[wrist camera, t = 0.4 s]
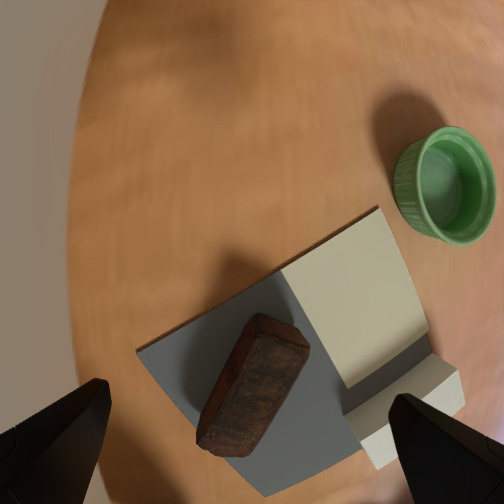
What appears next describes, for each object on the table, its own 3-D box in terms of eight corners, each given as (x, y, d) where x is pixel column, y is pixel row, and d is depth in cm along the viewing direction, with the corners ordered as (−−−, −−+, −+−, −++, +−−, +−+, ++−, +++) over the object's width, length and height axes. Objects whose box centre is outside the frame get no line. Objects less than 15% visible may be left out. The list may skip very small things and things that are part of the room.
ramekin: (381, 236, 24) (412, 240, 19) (387, 125, 23) (416, 111, 18) (461, 245, 25) (493, 250, 20) (465, 149, 24) (496, 142, 19)
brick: (249, 306, 23) (257, 328, 18) (298, 326, 23) (316, 351, 19) (195, 418, 23) (192, 454, 19) (240, 432, 24) (244, 468, 19)
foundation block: (361, 445, 26) (377, 470, 22) (343, 416, 25) (359, 441, 21) (442, 386, 26) (465, 404, 22) (432, 352, 25) (457, 369, 21)
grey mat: (264, 496, 25) (265, 497, 25) (136, 352, 22) (135, 354, 22) (446, 386, 26) (447, 387, 26) (378, 207, 23) (380, 207, 23)
